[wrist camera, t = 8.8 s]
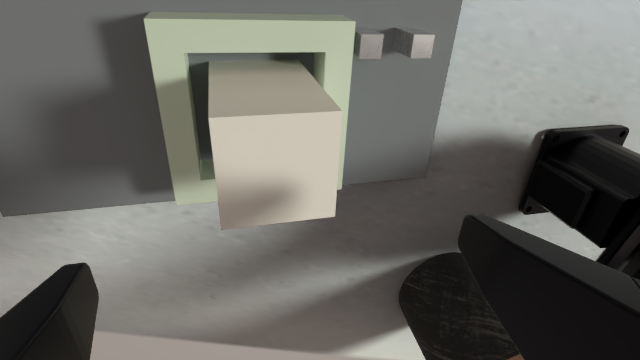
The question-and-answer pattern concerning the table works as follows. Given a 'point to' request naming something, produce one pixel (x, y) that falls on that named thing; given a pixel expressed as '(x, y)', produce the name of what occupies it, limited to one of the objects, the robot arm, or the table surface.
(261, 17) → the end holder
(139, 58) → the mat
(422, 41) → the set of small cubes
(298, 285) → the table surface
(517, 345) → the robot arm
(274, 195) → the beige rectangular block
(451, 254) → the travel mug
